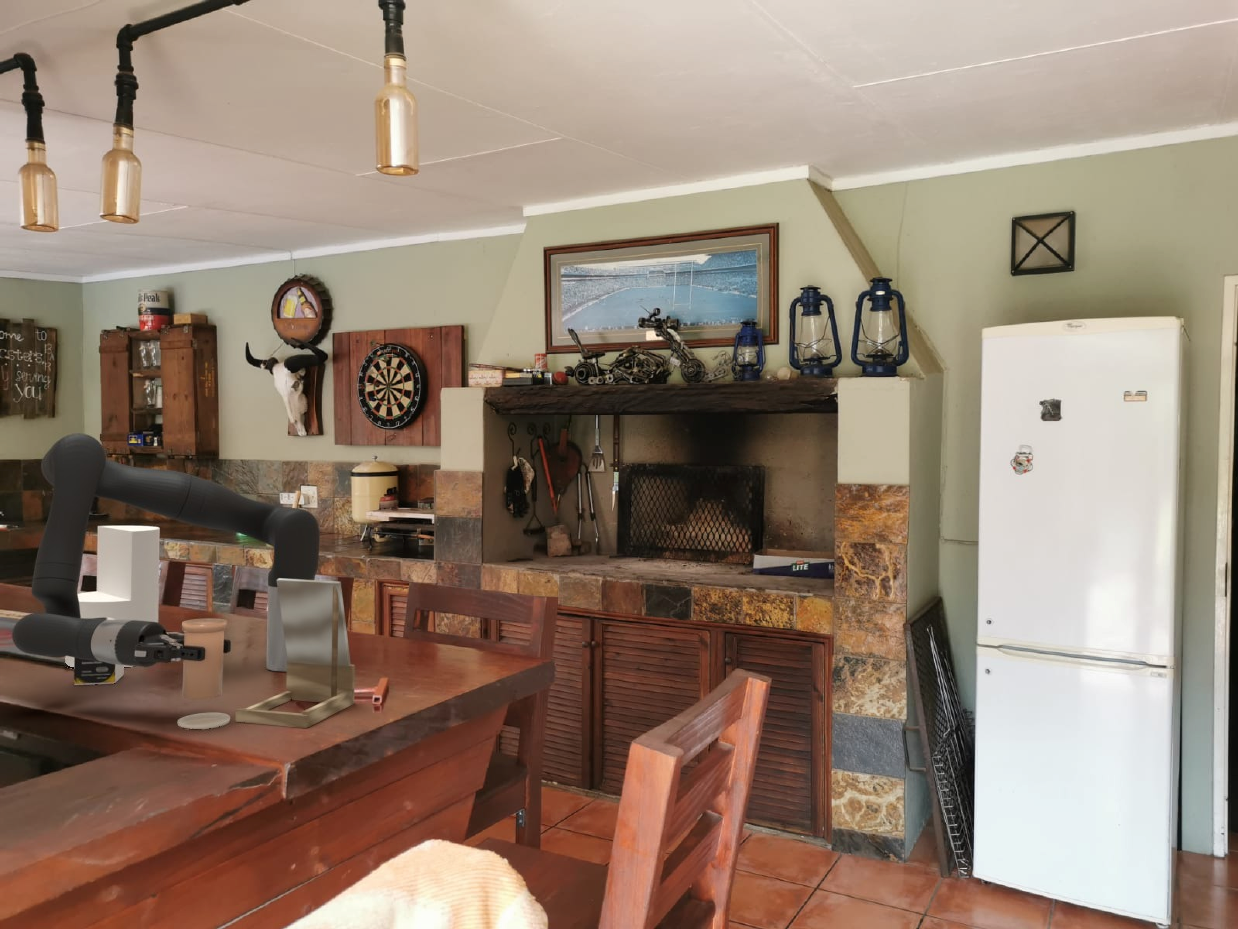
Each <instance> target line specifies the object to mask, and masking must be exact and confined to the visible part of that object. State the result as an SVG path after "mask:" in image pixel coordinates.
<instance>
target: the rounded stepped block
mask: <svg viewBox="0 0 1238 929" xmlns="http://www.w3.org/2000/svg"><path fill="white" fill-rule="evenodd" d="M160 531H161V530H160V527H158V526H153V525H151V526H150V525H97V550H96V551H97V552H96V591H87V592H82V593H81V592H80V593H79V592H78V593H77V594H78V599H79V606H80V615H81V618H113V619H126V620H138V621H151V622H157V623H159V602H160V601H159V598H160V597H159V596H160V595H159V593H160V591H159V590H160V586H159V585H160V578H159V577H160V538H161V537H160V535H161V533H160ZM64 658H65V659H64V660H65V661H64V664H65V663H66V664H67V665H68V666H70V667H74V657H70V656H64ZM124 667H131V668H134V667H133V666H128V665H124Z"/></svg>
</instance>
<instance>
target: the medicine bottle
mask: <svg viewBox="0 0 1238 929" xmlns="http://www.w3.org/2000/svg"><path fill="white" fill-rule="evenodd" d="M96 619H107V620H115V619H113V618H96ZM124 670H125V668H124V665H118V664H111V663H107V662H102V661H92V660H84V659H79V658H74V669H73V684H74V686H92V685H93V686H94V685H95V684H98V685H113V684H114V683H115V684H116V683H117V682H118V681H120V679H121V678H122V677H123V676H124V674H125V672H124Z"/></svg>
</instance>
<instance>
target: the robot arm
mask: <svg viewBox="0 0 1238 929" xmlns="http://www.w3.org/2000/svg"><path fill="white" fill-rule="evenodd" d="M40 463H41V464H40V467H41V468H40V469H41V470H40V471H41V473H42V475H43V477H44V479H45V480H46V481H47V482H48V483H49V484H50V485H52V486H53V489H52V490H53V491H52V500H51V504H50V510H49V514H48V518H47V522H46V525H45V528H44V531H43V534H42V537H41V540H40V544H39V547H38V550H37V555H36V558H35V564H34V570H33V576H32V583H31V595H32V597H33V598H35V599H36V600H38V601H39V602H41V603H42V604H43V606H44V611H45V612H32V613H29V614H26V615H24V616H23V617H22V618H20V619H19V620H18V621H17V622H16V623H15V625H14V627H13V629H12V633H11V635H12V636H11V637H12V641H13V644H14V646H15V647H16V648H17V649H18V650H19V651H20V652H22V653H24V654H28V655H35V656H43V657H49V658H58V659H60V658H65V656H70V657H74V658H79V659H84V660H92V661H102V662H107V663H111V664H118V665H128V666H136V667H140V668H141V667H142V668H150V667H154V666H155V665H157V664H158V663H162V664H163V663H164V664H169V663H171V662H173V661H174V662H180V661H182V660H183V661H184V660H192V661H203V660H204V659H205V648H204V647H200V646H188V645H185V646H184V633H181V632H179V631H170V632H168V633H167V631H166V629H165V627H164V626H163V625H162V624H161V623H159V622H158V623H157V622H151V621H138V620H126V619H115V620H107V619H96V618H81V615H80V606H79V599H78V594H79V593H78V588H79V583H80V577H81V570H82V563H83V557H84V556H83V555H84V549H85V541H86V536H87V535H86V534H87V528H88V523H89V517H90V514H91V510H92V507H93V502H94V498H95V497H96V498H101V499H106V500H111V501H115V502H119V503H122V504H124V505H128V506H129V507H130V506H131V507H133V508H137V509H140V510H142V511H147V512H149V513H153V514H155V515H160V516H163V517H165V518H168V519H172V520H173V521H174V520H175V521H178V522H181V523H186V524H188V525H192V526H197V527H201V528H206V529H212V530H220V531H226V532H233V533H237V534H240V535H243V536H247V537H249V538H252V539H255V540H257V541H260V542H261V543H263V544H267V545H269V546H271V547H273V563H272V567H271V569H270V570H269V572H268V575H267V610H266V611H267V615H266V618H267V620H266V621H267V622H266V625H267V627H266V629H267V630H266V667H265V668H266V669H267V670H270V671H273V672H287V661H288V658H287V651H286V644H285V636H284V629H283V622H282V615H281V608H280V601H279V594H278V587H277V579H279V578H283V579H301V580H316V579H315V578H316V575H317V572H318V569H319V559H320V536H321V535H320V525H319V523H318V520H317V518H316V517H315V516H314V515H313V513H311V512H310V511H307V510H306V509H301V508H296V507H290V506H280V505H275V504H271V503H267V502H261V501H258V500H254V499H252V498H251V499H250V498H248V497H245V496H244V495H241V494H240V493H237V492H236V491H234V490H232V489H230V488H228V487H226V486H224V485H222V484H219V483H216V482H214V481H212V480H208V479H205V478H204V477H203V478H202V477H199V476H196V475H192V474H190V473H185V472H182V471H177V470H170V469H161V468H147V467H146V468H145V467H137V466H131V465H126V464H123V463H119V462H118V461H114V460H112V459H108V458H107V455H106V451H105V448H104V447H103V445H102V444H101V443H100V441H99V440H98V439H96V438H95V437H93V436H92V435H89V434H86V433H81V432H79V433H72V434H68V435H65V436H64V437H62V438H60V439H59V440H57V441H56V442H55V443H54V444H52V446H51V447H50V449H48V451H47V452H46V453H45V454H44V456H43V458H42V460H41V462H40ZM231 650H232V641H231V640H230V639H228V638H227V639H226V638H224V649H223V654H229V653H231Z"/></svg>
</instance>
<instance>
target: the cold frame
mask: <svg viewBox="0 0 1238 929" xmlns="http://www.w3.org/2000/svg"><path fill="white" fill-rule="evenodd" d="M277 587H278V594H279V601H280V608H281V615H282V622H283V629H284V636H285V644H286V651H287V658H288V661H287V671H286V682H285V683H286V686H285V687H286V688H285V690H286V691H284V692H281V693H279V694H277V695H274V696H271V697H270V698H267V699H265V700H263V701H260V702H258V703H254V704H253V705H250V706H248V707H246V708H242V707H240V708H236V709H235V723H244V722H245V723H247V724H257V725H267V726H279V727H289V728H290V727H291V728H300V729H307V728H309V727H311V726H313V725H315V724H318V723H319V722H321V721H323V720H325V719H327V718H329V717H331V716H333V715H334V714H337V713H339V712H340V711H343V710H345V709H347V708H349V707H350V706H353V705H354V704H355V688H356V687H355V681H356V679H355V677H356V676H355V675H356V673H355V671H356V665H355V664H351V658H350V657H351V656H350V649H349V648H350V646H349V640H348V631H347V630H348V629H347V624H346V616H345V615H346V614H345V607H344V599H343V591H342V589H343V588H342V582H341V581H335V580H316V579H315V580H301V579H283V578H279V579H277ZM291 699H292V700H291ZM289 701H302V702H313V703H314V702H315V703H318V704H316V705H313V706H311V707H309V708H307V709H305V710H303V711H302V713H298V712H289V711H288V712H287V711H275V710H271V709H274V708H276V707H278V706H281V705H282V704H283V705H284V704H286V703H287V702H289Z"/></svg>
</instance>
